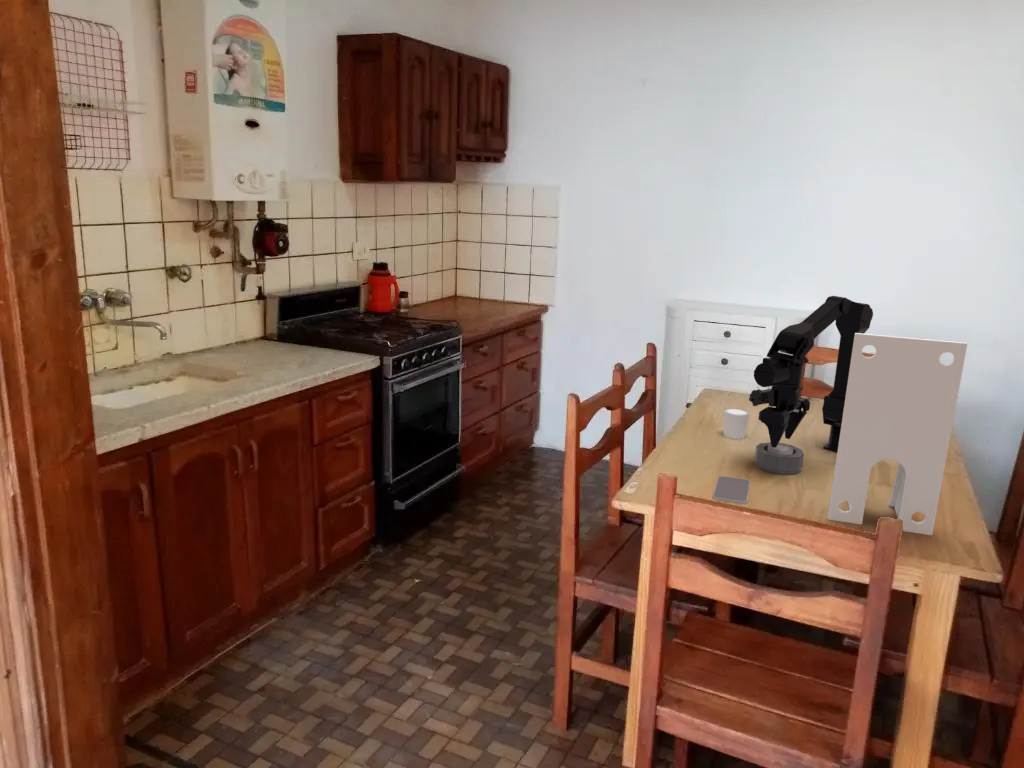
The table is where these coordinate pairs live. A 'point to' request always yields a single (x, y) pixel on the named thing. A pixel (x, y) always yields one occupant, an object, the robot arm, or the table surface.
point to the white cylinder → (735, 423)
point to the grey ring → (778, 460)
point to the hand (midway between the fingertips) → (780, 442)
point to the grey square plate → (732, 489)
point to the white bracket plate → (897, 425)
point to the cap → (781, 449)
